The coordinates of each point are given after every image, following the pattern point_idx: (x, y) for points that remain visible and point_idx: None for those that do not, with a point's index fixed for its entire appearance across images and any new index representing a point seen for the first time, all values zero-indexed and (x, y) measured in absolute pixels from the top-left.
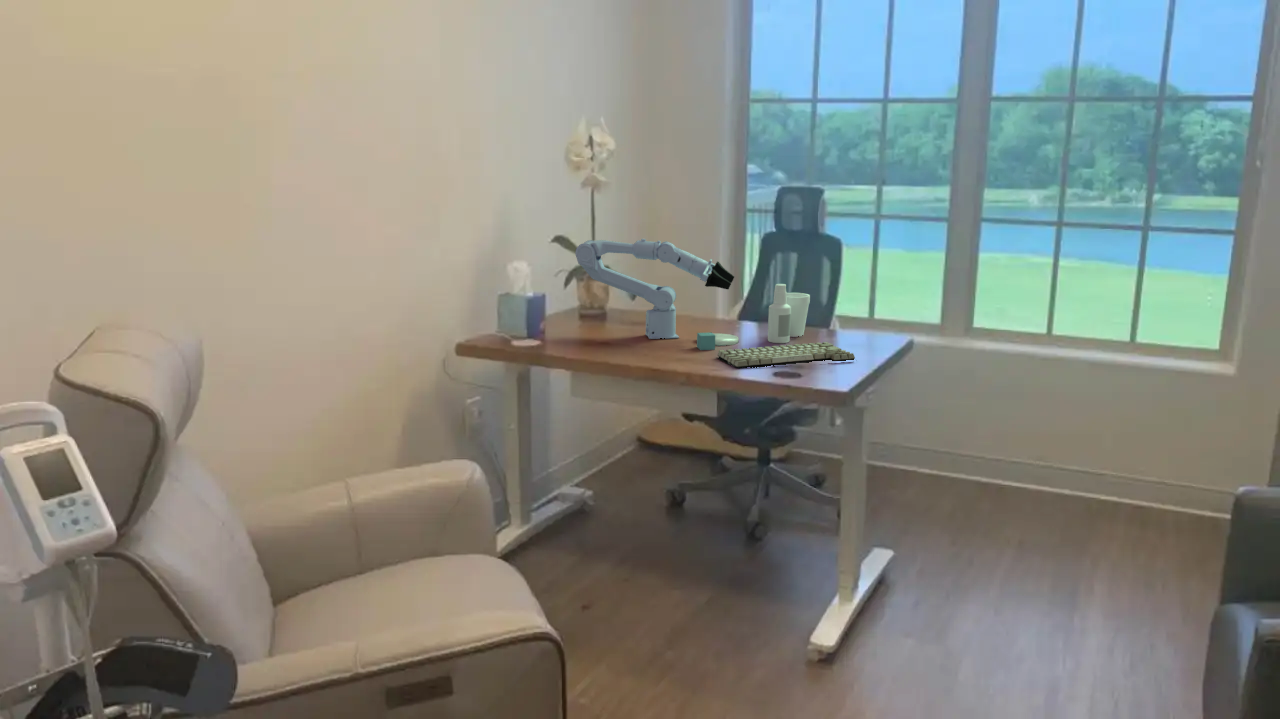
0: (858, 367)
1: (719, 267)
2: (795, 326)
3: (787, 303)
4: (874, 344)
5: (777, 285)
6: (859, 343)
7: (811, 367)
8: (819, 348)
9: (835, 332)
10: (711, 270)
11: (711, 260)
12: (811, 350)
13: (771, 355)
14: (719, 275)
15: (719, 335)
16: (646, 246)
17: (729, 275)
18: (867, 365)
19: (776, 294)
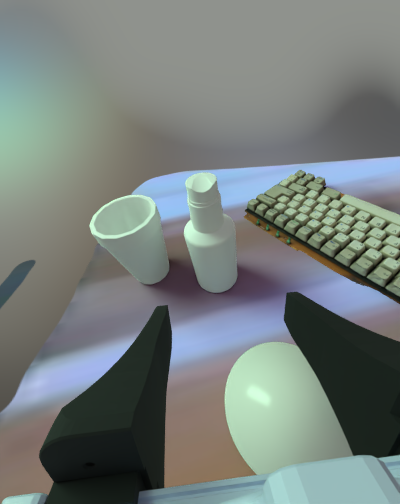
0: (324, 170)
1: (148, 393)
2: (166, 251)
3: (156, 230)
4: None
5: (215, 182)
6: None
7: (371, 198)
8: (285, 202)
9: None
10: (218, 485)
11: (361, 467)
12: (312, 203)
13: (393, 236)
14: (354, 336)
15: (254, 408)
16: None
17: (164, 327)
18: (307, 168)
19: (219, 205)
